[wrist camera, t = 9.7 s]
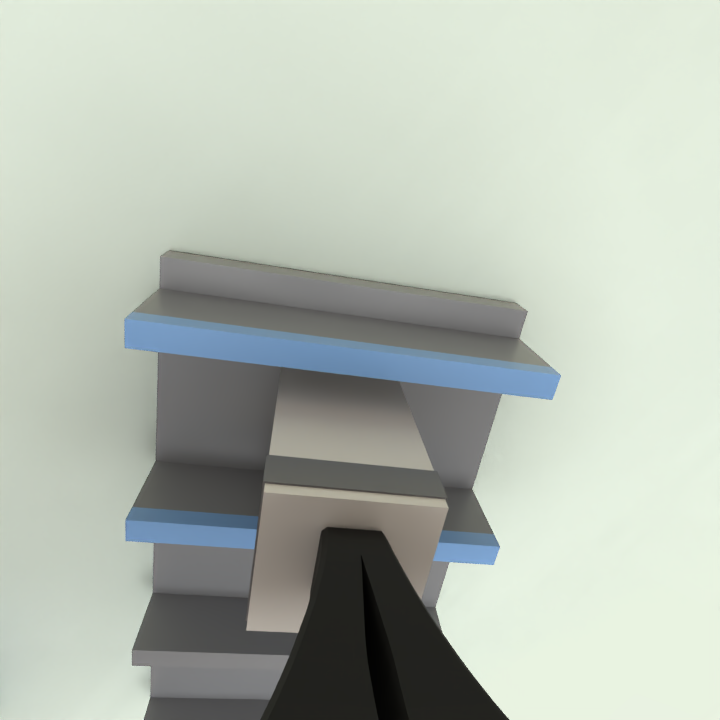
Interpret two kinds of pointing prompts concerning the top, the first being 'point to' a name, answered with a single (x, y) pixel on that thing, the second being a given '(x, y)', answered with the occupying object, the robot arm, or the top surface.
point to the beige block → (339, 487)
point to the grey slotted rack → (253, 438)
